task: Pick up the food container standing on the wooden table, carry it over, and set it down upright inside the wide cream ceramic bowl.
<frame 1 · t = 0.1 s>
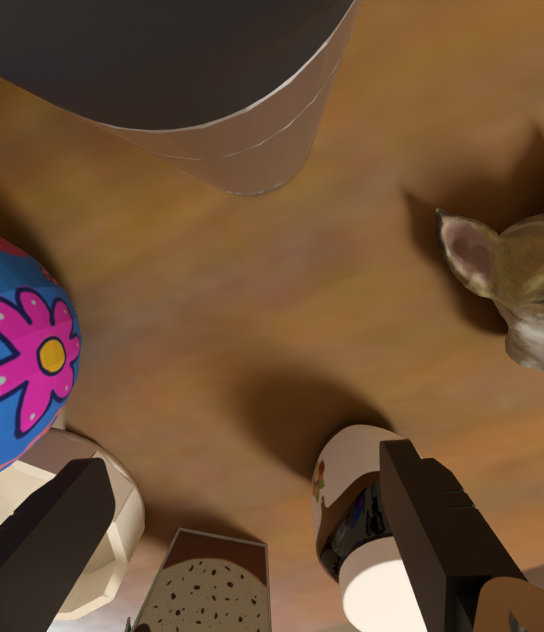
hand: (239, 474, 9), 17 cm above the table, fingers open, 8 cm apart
ceramic pot: (19, 315, 27), on the table
bowl: (53, 505, 32), on the table
ceramic sculpture: (512, 270, 24), on the table
spread jar: (369, 470, 30), on the table
food container: (219, 555, 34), on the table
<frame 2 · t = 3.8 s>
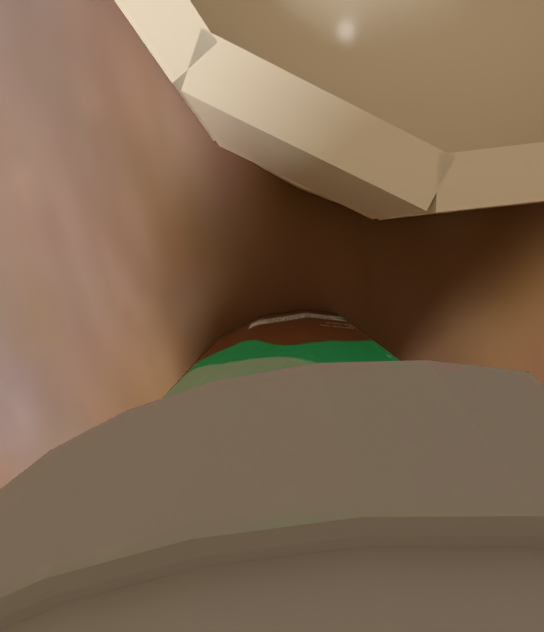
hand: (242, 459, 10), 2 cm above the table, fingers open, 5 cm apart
food container: (229, 410, 12), on the table, touching gripper
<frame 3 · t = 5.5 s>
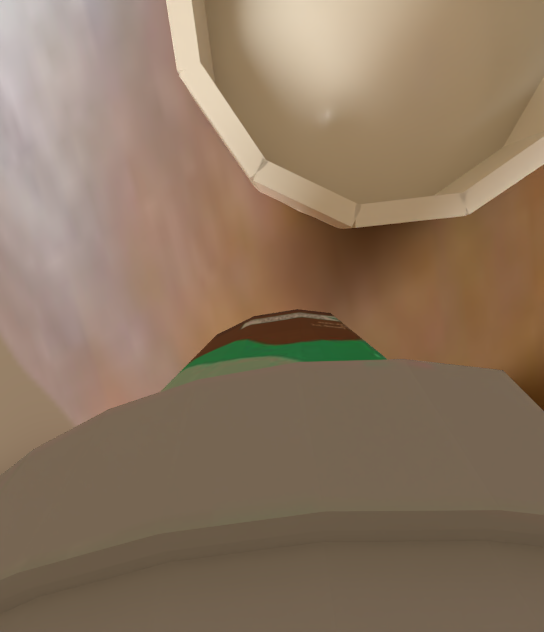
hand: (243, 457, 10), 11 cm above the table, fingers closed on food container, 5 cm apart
bowl: (376, 33, 16), on the table
food container: (223, 410, 12), point 9 cm above the table, touching gripper
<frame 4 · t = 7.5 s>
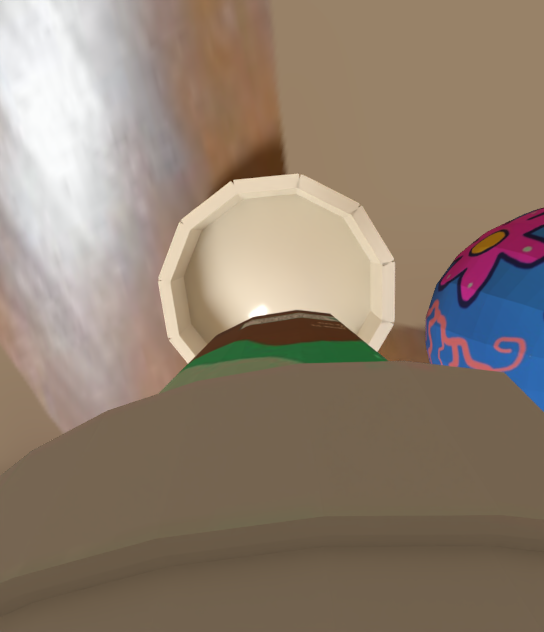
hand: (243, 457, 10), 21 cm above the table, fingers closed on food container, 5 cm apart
ceramic pot: (491, 306, 30), on the table
bowl: (277, 292, 30), on the table
food container: (223, 410, 12), point 19 cm above the table, touching gripper
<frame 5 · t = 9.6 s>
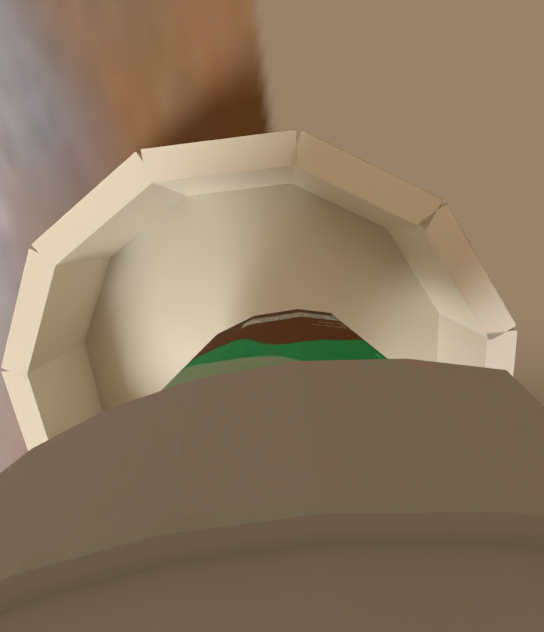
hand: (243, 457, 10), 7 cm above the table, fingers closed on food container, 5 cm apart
bowl: (261, 365, 16), on the table
food container: (223, 409, 12), point 4 cm above the table, touching gripper
when the fingers open (5 cm above the table, at t = 11.0 s): food container stays where it is, resting on bowl.
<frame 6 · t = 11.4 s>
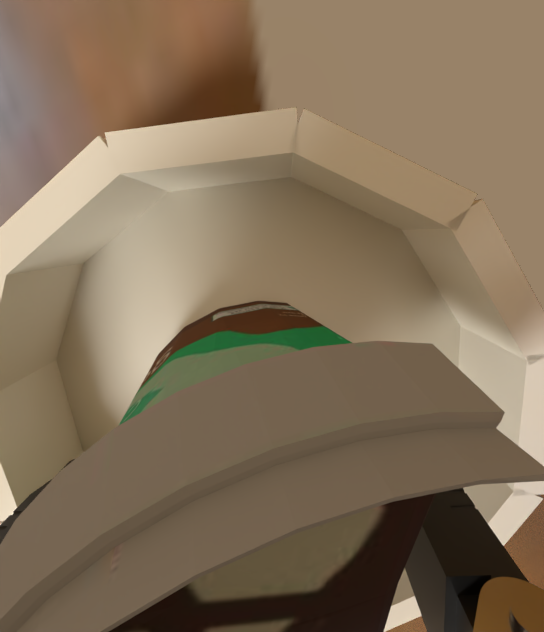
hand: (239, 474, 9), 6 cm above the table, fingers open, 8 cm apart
bowl: (257, 384, 14), on the table
food container: (191, 395, 13), point 1 cm above the table, touching bowl, gripper
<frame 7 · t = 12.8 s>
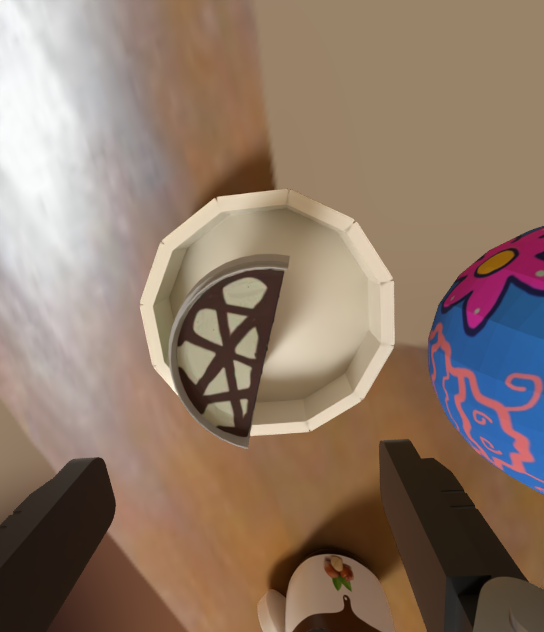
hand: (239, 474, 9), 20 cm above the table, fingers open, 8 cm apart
ceramic pot: (497, 322, 28), on the table
bowl: (269, 311, 28), on the table
spread jar: (316, 577, 36), on the table
food container: (238, 311, 28), point 1 cm above the table, touching bowl
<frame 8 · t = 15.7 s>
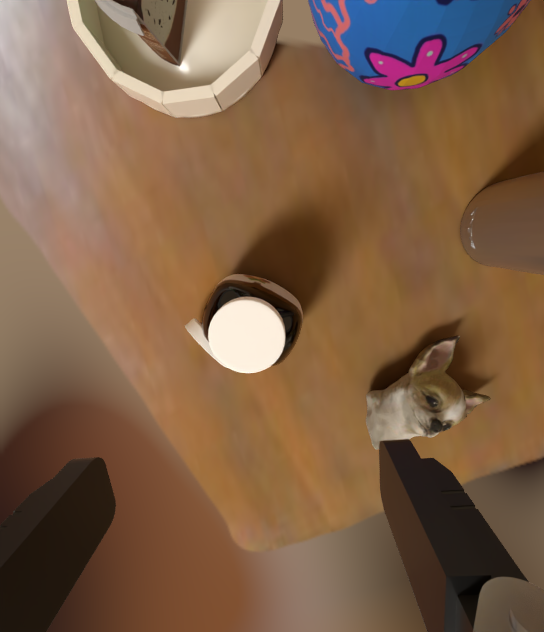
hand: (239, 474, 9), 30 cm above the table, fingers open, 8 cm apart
ceramic pot: (389, 17, 31), on the table
bowl: (185, 10, 31), on the table
ceramic sculpture: (409, 386, 41), on the table
spread jar: (245, 317, 39), on the table
food container: (156, 5, 31), point 1 cm above the table, touching bowl
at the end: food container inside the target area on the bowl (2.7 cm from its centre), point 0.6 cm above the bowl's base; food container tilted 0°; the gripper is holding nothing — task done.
